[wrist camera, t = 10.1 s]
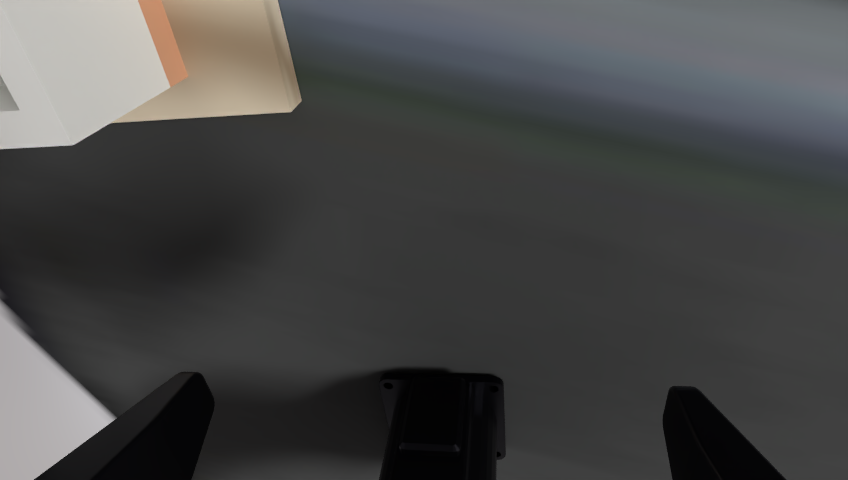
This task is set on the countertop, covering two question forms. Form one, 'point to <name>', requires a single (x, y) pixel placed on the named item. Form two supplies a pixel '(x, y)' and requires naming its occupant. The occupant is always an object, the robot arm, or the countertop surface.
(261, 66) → the pin board
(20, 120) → the banded sleeve
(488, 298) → the countertop surface
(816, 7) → the countertop surface
